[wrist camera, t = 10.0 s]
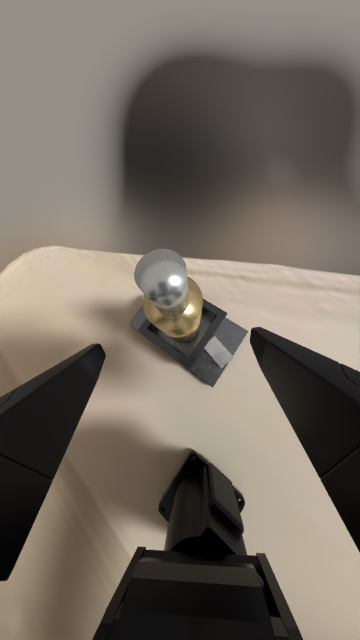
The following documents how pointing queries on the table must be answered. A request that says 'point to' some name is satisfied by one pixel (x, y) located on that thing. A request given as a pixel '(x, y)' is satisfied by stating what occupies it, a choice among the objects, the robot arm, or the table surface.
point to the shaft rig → (199, 342)
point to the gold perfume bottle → (169, 294)
